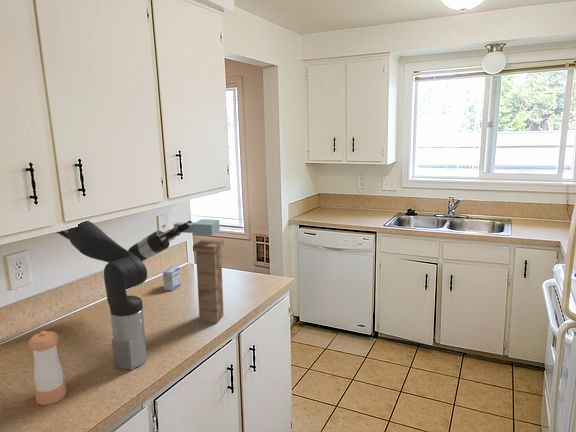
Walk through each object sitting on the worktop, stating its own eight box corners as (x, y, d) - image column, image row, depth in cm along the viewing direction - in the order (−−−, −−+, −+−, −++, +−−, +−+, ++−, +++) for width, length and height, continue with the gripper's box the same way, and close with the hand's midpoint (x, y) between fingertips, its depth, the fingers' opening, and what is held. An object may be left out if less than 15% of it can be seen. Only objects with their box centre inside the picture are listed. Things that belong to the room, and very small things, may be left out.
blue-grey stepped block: (211, 235, 150) (211, 224, 149) (171, 233, 153) (170, 222, 152) (219, 230, 158) (219, 219, 157) (180, 228, 160) (180, 218, 160)
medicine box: (173, 291, 188) (171, 272, 187) (163, 290, 189) (162, 271, 187) (181, 284, 196) (179, 266, 194) (172, 284, 197) (170, 266, 195)
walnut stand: (217, 325, 156) (214, 247, 150) (196, 323, 157) (192, 245, 151) (226, 313, 165) (223, 239, 159) (206, 312, 167) (203, 238, 161)
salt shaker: (29, 401, 113) (19, 335, 109) (53, 386, 120) (44, 323, 116) (49, 407, 111) (40, 340, 107) (72, 391, 117) (64, 327, 113)
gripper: (138, 240, 152) (176, 219, 148) (157, 231, 166) (192, 211, 161) (149, 258, 153) (187, 237, 149) (167, 247, 167) (202, 228, 162)
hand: (189, 223), depth 155 cm, fingers closed on blue-grey stepped block, 3 cm apart
